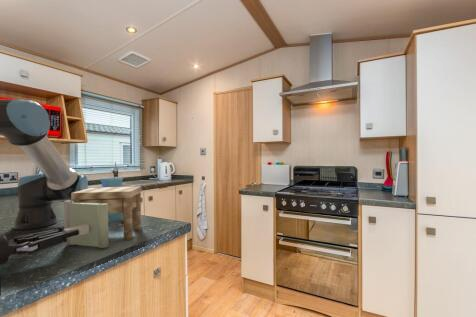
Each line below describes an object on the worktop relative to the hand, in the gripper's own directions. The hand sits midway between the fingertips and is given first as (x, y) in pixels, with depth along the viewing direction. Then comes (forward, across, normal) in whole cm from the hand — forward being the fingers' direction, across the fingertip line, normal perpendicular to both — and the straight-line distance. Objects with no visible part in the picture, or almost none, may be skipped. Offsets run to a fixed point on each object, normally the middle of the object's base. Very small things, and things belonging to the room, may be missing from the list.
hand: (87, 228), depth 77 cm
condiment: (+26, -17, -7) cm, 32 cm away
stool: (+12, -8, -7) cm, 15 cm away
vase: (+25, -29, -7) cm, 39 cm away
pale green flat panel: (+1, -2, -7) cm, 7 cm away
